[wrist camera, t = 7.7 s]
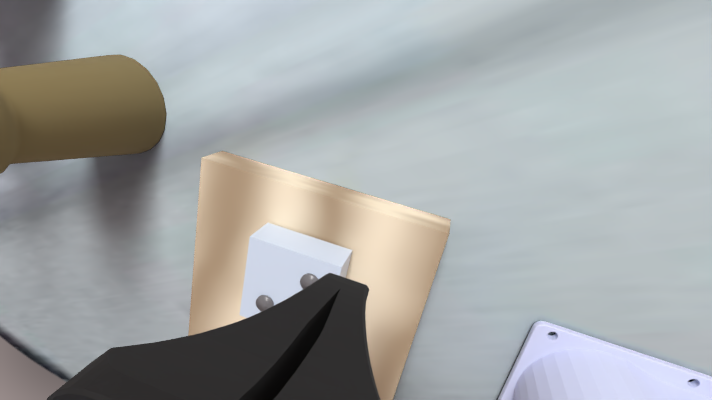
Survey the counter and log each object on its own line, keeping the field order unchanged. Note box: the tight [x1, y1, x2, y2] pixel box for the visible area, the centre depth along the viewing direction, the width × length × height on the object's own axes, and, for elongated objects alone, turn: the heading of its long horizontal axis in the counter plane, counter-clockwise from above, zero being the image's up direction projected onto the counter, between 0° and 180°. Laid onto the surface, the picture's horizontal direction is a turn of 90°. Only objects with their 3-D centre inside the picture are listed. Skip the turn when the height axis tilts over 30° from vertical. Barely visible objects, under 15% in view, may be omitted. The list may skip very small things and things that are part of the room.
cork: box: [0, 55, 166, 173], centre depth 19 cm, size 6×6×11 cm
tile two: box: [240, 223, 352, 318], centre depth 21 cm, size 5×5×2 cm
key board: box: [188, 151, 450, 400], centre depth 26 cm, size 14×28×2 cm, turn 167°
